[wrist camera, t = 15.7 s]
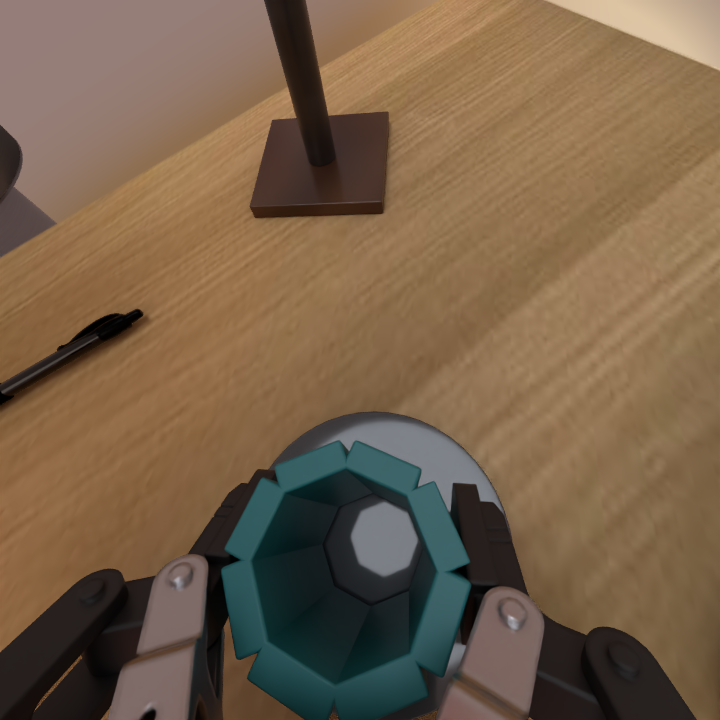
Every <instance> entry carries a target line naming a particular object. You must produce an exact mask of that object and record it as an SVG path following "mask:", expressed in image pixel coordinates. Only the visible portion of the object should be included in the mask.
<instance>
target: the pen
mask: <svg viewBox="0 0 720 720" xmlns="http://www.w3.org/2000/svg"><path fill="white" fill-rule="evenodd" d="M142 316H143V312H142V311H141V310H140V309H135V310H133V311H131V312H129V313H127V314H126V315H124V314H119V313H114V314H109V315H106V316H104V317H102V318H100V319H98V320H96V321H94V322H93V323H91V324H90V325H88V326H87V327H86V328H84V329H83V330H82V331H80V332H79V333H78V334H77V335H76V336H75V337H74V338H73V339H72V340H71V341H70V342H69V343H67V344H65V345H61V346H59V347H58V348H57V352H55V353H53V354H51V355H50V356H48V357H46V358H44V359H43V360H41V361H39V362H38V363H36V364H34V365H32V366H31V367H29V368H27V369H25V370H24V371H22V372H20V373H18V374H17V375H15V376H13V377H12V378H10V379H8V380H6V381H5V382H3V383H0V405H2V404H3V403H5V402H6V401H7V400H9V399H11V398H13V397H14V395H15V394H17V393H18V392H20V391H22V390H24V389H25V388H27V387H29V386H30V385H32V384H34V383H36V382H37V381H39V380H41V379H42V378H44V377H46V376H48V375H49V374H51V373H53V372H54V371H56V370H58V369H60V368H61V367H63V366H65V365H66V364H68V363H70V362H71V361H73V360H75V359H77V358H78V357H80V356H82V355H83V354H85V353H87V352H89V351H90V350H92V349H94V348H95V347H97V346H99V345H101V344H102V343H104V342H106V341H108V340H110V339H112V338H114V337H116V336H118V335H119V334H121V333H123V332H124V331H126V330H127V329H129V328H130V327H132V323H134V322H135V321H137V320H138V319H140V318H141V317H142Z"/></svg>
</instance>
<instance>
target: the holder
mask: <svg viewBox="0 0 720 720" xmlns="http://www.w3.org/2000/svg"><path fill="white" fill-rule="evenodd" d="M264 2H265V5H266V9H267V13H268V16H269V20H270V23H271V27H272V31H273V34H274V38H275V42H276V45H277V49H278V52H279V56H280V60H281V63H282V67H283V70H284V74H285V78H286V81H287V85H288V89H289V92H290V96H291V100H292V103H293V107H294V111H295V114H296V118H292V119H278V120H272V123H271V127H270V131H269V134H268V138H267V142H266V146H265V150H264V154H263V157H262V161H261V165H260V169H259V173H258V177H257V180H256V184H255V188H254V192H253V196H252V200H251V203H250V208H251V210H252V212H253V214H254V216H255V217H281V216H310V215H340V214H369V213H383V206H384V191H385V176H386V162H387V147H388V132H389V113H388V112H374V113H360V114H347V115H333V116H328V112H327V107H326V102H325V96H324V91H323V86H322V81H321V76H320V71H319V66H318V61H317V56H316V51H315V46H314V40H313V35H312V30H311V25H310V21H309V15H308V10H307V5H306V0H264Z"/></svg>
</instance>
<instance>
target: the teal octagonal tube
mask: <svg viewBox="0 0 720 720" xmlns="http://www.w3.org/2000/svg"><path fill="white" fill-rule="evenodd" d="M275 473H276V477H277V481H278V482H277V481H274V480H271V479H267V478H261V479H260V481H259V483H258V485H257V487H256V489H255V491H254V493H253V495H252V497H251V499H250V500H249V502H248V504H247V506H246V508H245V510H244V512H243V514H242V516H241V518H240V520H239V521H238V523H237V525H236V527H235V529H234V531H233V533H232V535H231V537H230V539H229V541H228V542H227V544H226V546H225V551H226V552H227V553H229V554H231V555H233V556H234V557H236V558H238V559H239V561H237V562H234V563H232V564H230V565H227V566H225V567H223V568H222V569H221V574H222V580H223V586H224V592H225V598H226V603H227V609H228V615H229V621H230V626H231V632H232V638H233V644H234V650H235V655H236V659H237V660H241V659H244V658H246V657H248V656H251V655H253V654H256V653H258V654H257V656H256V658H255V661H254V663H253V665H252V667H251V669H250V672H249V674H248V677H247V679H248V680H249V681H250V682H251V683H253V684H254V685H256V686H257V687H259V688H260V689H262V690H263V691H264V692H266V693H267V694H269V695H270V696H272V697H273V698H274V699H276V700H277V701H279V702H280V703H282V704H283V705H285V706H286V707H287V708H289V709H290V710H292V711H293V712H295V713H296V714H298V715H299V716H300V717H302V718H303V719H305V720H329V718H330V716H331V713H332V711H333V708H334V706H335V707H336V711H337V715H338V718H339V720H378V719H380V718H382V717H384V716H387V715H389V714H391V713H394V712H396V711H398V710H401V709H403V708H405V707H407V706H410V705H412V704H414V703H417V702H419V701H421V700H423V699H426V698H428V697H429V688H428V680H427V671H429V672H431V673H432V674H434V675H436V676H438V677H439V678H443V677H444V676H445V673H446V670H447V666H448V663H449V660H450V656H451V653H452V650H453V646H454V643H455V639H456V636H457V633H458V629H459V626H460V623H461V619H462V616H463V613H464V609H465V606H466V602H467V599H468V596H469V592H470V589H471V583H470V582H469V581H468V580H467V579H466V578H465V577H464V576H463V575H462V574H461V573H460V572H459V571H458V570H457V569H458V568H460V567H462V566H465V565H467V564H469V563H470V559H469V557H468V555H467V552H466V550H465V548H464V546H463V543H462V541H461V539H460V537H459V534H458V532H457V530H456V528H455V525H454V523H453V521H452V519H451V516H450V514H449V512H448V509H447V507H446V505H445V503H444V500H443V498H442V496H441V494H440V491H439V489H438V487H437V485H436V482H435V481H432V482H429V483H427V484H424V485H422V486H419V487H418V484H419V480H420V476H421V473H422V469H421V468H420V467H418V466H415V465H413V464H411V463H409V462H406V461H404V460H402V459H399V458H397V457H395V456H392V455H390V454H388V453H386V452H383V451H381V450H379V449H376V448H374V447H372V446H370V445H367V444H365V443H363V442H360V441H358V440H355V441H354V442H353V444H352V447H351V449H350V451H348V449H347V448H346V447H345V446H344V444H343V443H342V442H341V441H340V440H337V441H334V442H332V443H329V444H327V445H324V446H322V447H319V448H317V449H314V450H312V451H309V452H307V453H304V454H302V455H299V456H297V457H294V458H292V459H289V460H287V461H284V462H282V463H279V464H277V465H276V466H275ZM372 493H374V494H376V495H378V496H380V497H383V498H385V499H387V500H389V501H391V502H393V503H395V504H397V505H399V506H402V507H404V508H406V509H407V510H408V512H409V515H410V517H411V520H412V522H413V525H414V527H415V530H416V532H417V535H418V537H419V540H420V542H421V545H422V547H423V551H422V554H421V557H420V560H419V563H418V566H417V568H416V571H415V574H414V577H413V580H412V583H411V586H410V588H409V591H407V592H404V593H402V594H400V595H397V596H395V597H393V598H390V599H388V600H385V601H383V602H381V603H378V604H376V605H374V606H371V607H370V606H369V605H367V604H365V603H363V602H361V601H360V600H358V599H356V598H354V597H353V596H351V595H349V594H347V593H346V592H344V591H342V590H340V589H338V588H337V587H335V586H334V583H333V580H332V577H331V573H330V570H329V566H328V563H327V559H326V556H325V552H324V549H323V545H322V544H323V542H324V539H325V537H326V535H327V532H328V530H329V528H330V526H331V523H332V521H333V519H334V516H335V514H336V512H337V510H338V507H340V506H342V505H345V504H347V503H350V502H352V501H354V500H357V499H359V498H362V497H364V496H367V495H369V494H372ZM426 670H427V671H426Z"/></svg>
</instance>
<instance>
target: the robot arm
mask: <svg viewBox="0 0 720 720" xmlns="http://www.w3.org/2000/svg"><path fill="white" fill-rule="evenodd" d="M261 478H267V479H271V480H274V481H277V477H276V473H275V470H264V469H258V470H257V471H256V472H255V473H254V475H253V477H252V478H251V480H250V481H249V483H248V484H247V483H241V484H240V485H238V486H237V487H236V488H235V489H233V490H232V491H231V492H230V493H229V494H228V495H227V497H226V498H225V500H224V501H223V502H222V504H221V507H219V508H218V510H217V511H216V513H215V514H214V517H212V519H211V520H210V522H209V523H208V525H207V526H206V528H205V529H204V531H203V532H202V534H201V535H200V537H199V538H198V540H197V541H196V542H195V544H194V545H193V547H192V548H191V550H190V551H189V553H188V554H187V555H183V556H180V557H178V558H176V559H174V560H172V561H170V562H169V563H168V564H166V565H165V566H164V567H163V568H162V569H161V570H160V571H159V572H158V574H157V575H156V576H152V577H147V578H142V579H137V580H132V581H127V582H125V581H124V578H123V575H122V573H121V572H120V571H118V570H116V569H103V570H99V571H96V572H94V573H91V574H89V575H87V576H86V577H84V578H82V579H81V580H79V581H78V582H77V583H76V584H74V585H73V586H72V587H71V588H70V589H69V590H68V591H67V592H66V593H64V594H63V595H62V596H61V597H60V598H59V599H58V600H57V601H56V602H55V603H54V604H52V605H51V606H50V607H49V608H48V609H47V610H46V611H45V612H44V613H43V614H42V615H40V616H39V617H38V618H37V619H36V620H35V621H34V622H33V623H32V624H31V625H30V626H29V627H27V628H26V629H25V630H24V631H23V632H22V633H21V634H20V635H19V636H18V637H17V638H15V639H14V640H13V641H12V642H11V643H10V644H9V645H8V646H7V647H6V648H5V649H3V650H2V651H1V652H0V720H101V718H102V717H103V716H104V714H105V713H106V712H107V710H108V709H109V708H110V706H111V709H110V713H109V716H108V720H223V711H222V698H223V668H224V637H225V634H224V628H223V627H224V625H225V623H226V620H227V618H228V616H229V615H228V609H227V603H226V598H225V592H224V586H223V580H222V574H221V569H222V568H223V567H225V566H227V565H230V564H232V563H234V562H237V561H239V559H238V558H236V557H234V556H233V555H231V554H229V553H227V552H226V551H225V546H226V544H227V542H228V541H229V539H230V537H231V535H232V533H233V531H234V529H235V527H236V525H237V523H238V521H239V520H240V518H241V516H242V514H243V512H244V510H245V508H246V506H247V504H248V502H249V500H250V499H251V497H252V495H253V493H254V491H255V489H256V487H257V485H258V483H259V481H260V479H261ZM277 482H278V481H277ZM450 516H451V519H452V521H453V523H454V525H455V528H456V530H457V532H458V534H459V537H460V539H461V541H462V543H463V546H464V548H465V550H466V552H467V555H468V557H469V559H470V563H469V564H467V565H465V566H462V567H460V568H458V569H457V570H458V571H459V572H460V573H461V574H462V575H463V576H464V577H465V578H466V579H467V580H468V581H469V582H470V583H471V589H470V592H469V596H468V599H467V602H466V606H465V609H464V613H463V616H462V619H461V623H460V633H461V642H462V645H466V648H465V651H464V654H463V656H462V659H461V662H460V665H459V668H458V670H457V672H456V674H453V675H452V676H451V678H450V681H449V683H448V685H447V688H446V691H445V693H444V696H443V699H442V702H441V704H440V707H439V710H438V713H437V715H436V718H435V720H528V717H530V718H532V719H534V720H697V719H696V718H695V717H694V715H693V714H692V712H691V711H690V709H689V708H688V706H687V705H686V703H685V702H684V700H683V699H682V697H681V696H680V694H679V693H678V691H677V690H676V689H675V687H674V686H673V684H672V683H671V681H670V680H669V678H668V677H667V675H666V674H665V672H664V671H663V669H662V668H661V666H660V665H659V663H658V662H657V660H656V659H655V658H654V656H653V655H652V654H651V653H650V652H649V651H648V649H647V648H646V647H645V646H643V645H642V644H641V643H640V642H639V641H637V640H636V639H635V638H633V637H632V636H630V635H628V634H627V633H625V632H623V631H621V630H618V629H615V628H611V627H597V628H594V629H593V630H591V631H590V632H589V633H588V635H585V634H582V633H580V632H577V631H575V630H572V629H570V628H568V627H565V626H563V625H561V624H559V623H556V622H555V621H553V620H551V619H550V618H548V617H547V616H546V615H544V614H543V613H542V612H541V611H540V609H539V608H538V606H537V605H536V604H535V603H534V601H533V600H532V599H531V598H530V597H529V595H528V592H527V590H526V586H525V583H524V580H523V576H522V573H521V570H520V566H519V563H518V559H517V556H516V553H515V549H514V546H513V544H512V539H511V536H510V533H509V531H508V530H509V529H508V526H507V522H506V519H505V516H504V514H503V513H502V512H501V510H500V509H499V508H498V507H497V505H496V504H495V503H494V502H485V501H480V497H479V493H478V489H477V485H476V484H465V483H453V486H452V498H451V511H450ZM80 655H81V656H82V659H81V660H80V661H79V662H78V663H77V664H76V666H75V667H74V668H73V669H72V670H71V671H70V672H69V673H68V675H67V676H66V677H65V678H64V679H63V680H62V681H61V682H60V684H59V685H58V686H57V687H56V688H55V689H54V690H53V691H52V693H51V694H50V695H49V696H48V697H47V698H46V699H45V700H44V702H43V703H42V704H41V705H40V706H39V707H38V708H37V709H36V711H35V712H34V710H35V708H36V706H37V705H38V703H39V701H40V700H41V699H42V697H43V696H44V695H45V694H46V693H47V692H48V691H49V689H50V688H51V687H52V686H53V685H54V684H55V683H56V682H57V681H58V679H59V678H60V677H61V676H62V675H63V674H64V673H65V672H66V671H67V669H68V668H69V667H70V666H71V665H72V664H73V663H74V662H75V661H76V659H77V658H78V657H79V656H80Z"/></svg>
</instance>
